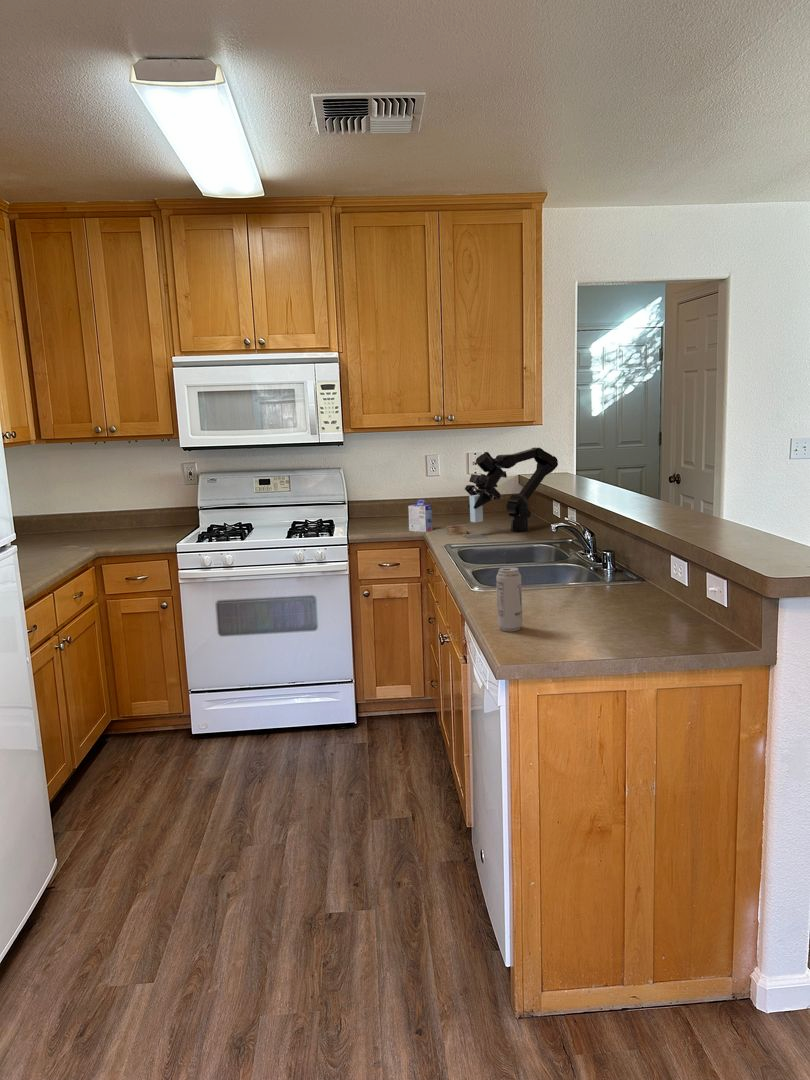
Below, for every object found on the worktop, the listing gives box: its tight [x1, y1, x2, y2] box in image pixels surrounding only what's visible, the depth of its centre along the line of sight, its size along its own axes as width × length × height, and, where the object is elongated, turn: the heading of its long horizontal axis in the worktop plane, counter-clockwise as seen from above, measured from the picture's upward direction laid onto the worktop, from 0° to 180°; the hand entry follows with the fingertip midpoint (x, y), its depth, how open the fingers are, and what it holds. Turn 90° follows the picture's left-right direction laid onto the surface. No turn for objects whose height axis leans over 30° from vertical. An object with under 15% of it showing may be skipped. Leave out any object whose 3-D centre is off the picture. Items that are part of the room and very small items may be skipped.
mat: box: [462, 533, 488, 540], centre depth 318 cm, size 9×9×1 cm
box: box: [446, 525, 468, 536], centre depth 327 cm, size 8×7×4 cm
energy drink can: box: [495, 566, 523, 632], centre depth 184 cm, size 6×6×15 cm
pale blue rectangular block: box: [469, 495, 484, 523], centre depth 316 cm, size 4×4×11 cm
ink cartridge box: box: [408, 499, 434, 533], centre depth 340 cm, size 10×6×14 cm, turn 53°
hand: (471, 507), depth 315 cm, fingers closed on pale blue rectangular block, 3 cm apart
